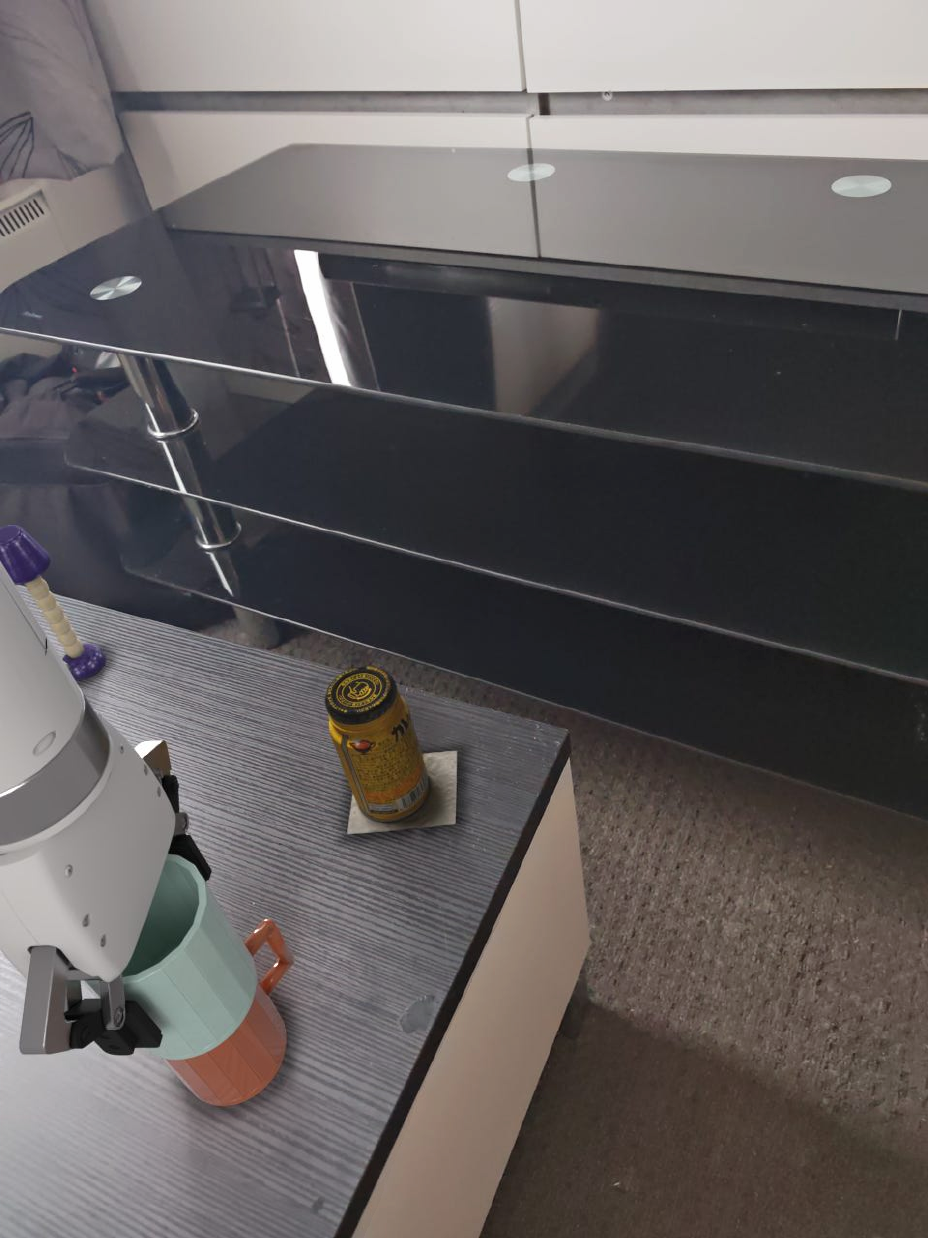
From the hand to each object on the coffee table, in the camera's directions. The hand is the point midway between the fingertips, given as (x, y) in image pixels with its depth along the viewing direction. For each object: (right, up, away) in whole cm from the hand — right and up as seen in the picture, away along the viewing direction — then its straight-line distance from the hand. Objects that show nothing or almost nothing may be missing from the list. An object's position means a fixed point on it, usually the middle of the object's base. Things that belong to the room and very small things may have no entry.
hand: (162, 954), depth 51 cm
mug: (+3, -8, +9) cm, 13 cm away
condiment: (+12, +5, +22) cm, 26 cm away
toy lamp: (-20, +14, +39) cm, 46 cm away
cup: (+1, -4, +3) cm, 5 cm away
